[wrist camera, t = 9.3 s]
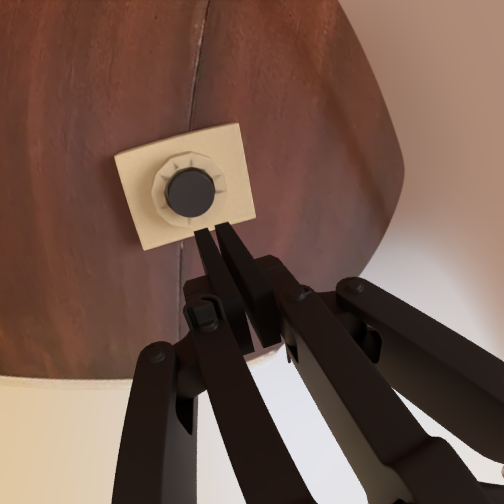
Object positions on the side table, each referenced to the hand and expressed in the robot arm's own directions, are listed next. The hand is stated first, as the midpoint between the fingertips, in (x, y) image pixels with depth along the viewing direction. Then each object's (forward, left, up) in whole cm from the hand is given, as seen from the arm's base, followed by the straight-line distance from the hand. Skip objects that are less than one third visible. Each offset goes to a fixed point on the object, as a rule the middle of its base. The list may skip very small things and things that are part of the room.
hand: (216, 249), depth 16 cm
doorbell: (0, 0, -16) cm, 16 cm away
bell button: (0, 0, -13) cm, 13 cm away
